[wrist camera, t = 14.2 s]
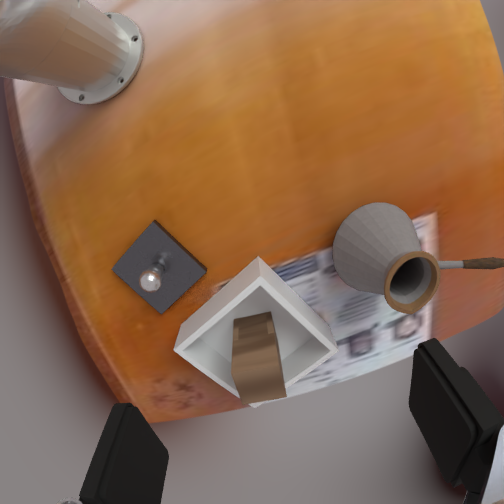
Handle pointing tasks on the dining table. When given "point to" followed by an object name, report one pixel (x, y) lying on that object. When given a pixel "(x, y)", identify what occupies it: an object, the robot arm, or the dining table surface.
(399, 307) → the coffee pot
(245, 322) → the walnut post
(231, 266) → the dining table surface
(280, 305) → the grey bin
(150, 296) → the stud plate
